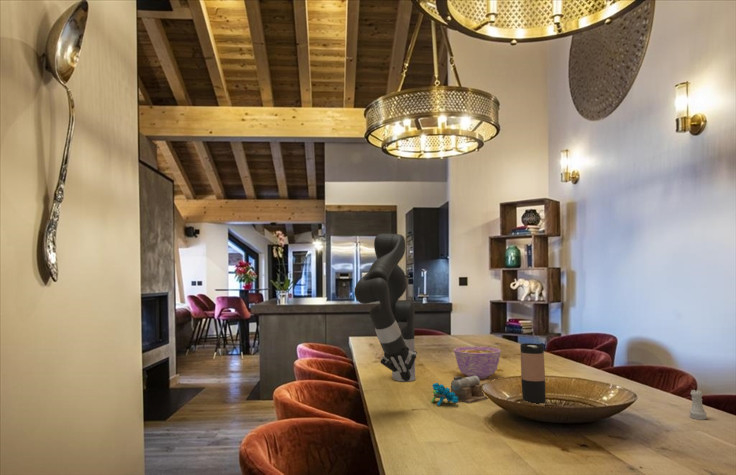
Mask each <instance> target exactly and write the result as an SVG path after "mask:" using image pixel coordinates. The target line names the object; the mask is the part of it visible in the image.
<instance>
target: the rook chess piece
mask: <svg viewBox="0 0 736 475" xmlns="http://www.w3.org/2000/svg"><path fill="white" fill-rule="evenodd" d="M690 395H691V400H692V401H691V408H690V410H689V414H688V415H689V417H690V418H691V419H694V420H698V421H699V420H700V421H701V420H703V421H704V420H706V419H708V417H707V412H706V411H705V409H704V406H703V398H702V397H703V396H704V394H703V393H702V390H699V389H697V390H695V389H691V392H690Z"/></svg>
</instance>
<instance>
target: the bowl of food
mask: <svg viewBox="0 0 736 475" xmlns="http://www.w3.org/2000/svg"><path fill="white" fill-rule="evenodd" d="M501 351H502V350H501V349H499V348H496V347H490V346H459V347H455V348H453V352H454V357H455V360H456V364H457V368H458V369H459V371H460V372H461V373H462V374H463V375H465V376H467V377H471V376H477V377H478V378H479V380H482V379H483V380H485V379H487V378H488V377H489V376H492V375H494V374H495V373H496V372H497V370H498V367H499V362H500V357H501Z"/></svg>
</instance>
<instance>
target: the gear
mask: <svg viewBox="0 0 736 475" xmlns="http://www.w3.org/2000/svg"><path fill="white" fill-rule="evenodd" d="M432 389H433V392H432V393H433V398H432V399H431V401H430V402H431V403H433V404H434V402H435V400H436V399H439V400H438V401H437V403H436V405H437V406H438V407H440V405H441V404H442V403H443V401H444V400H446V401H447V402H448V403H452V404H455V403H456V404H458V403H459V402H460V401H459V400H458V399H459V398H458V397H457V396H455V393H454V392H452V393H451V388H449V387H445V386H444V384H442V383H440V384H439V383H438V382H436V383H433V384H432Z"/></svg>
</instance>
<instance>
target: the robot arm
mask: <svg viewBox="0 0 736 475" xmlns="http://www.w3.org/2000/svg"><path fill="white" fill-rule="evenodd" d="M373 242H374V243H373V247H374V252H375V256H376V260H375V261H374V262H373V263H372V264H371V266H370V268H369V270H368V271H367V273H366V274H364V275H363V276H362V277H361V278H360V279H359V280H358V282H356V284H355V288H354V297H355V299H356V301H357V302H358V303H360V304H363V305H364V304H365V305H366V304H371V303H376V302H378V304H376V305H375V306H373V307H371V309H370V310H369V318H370V319H371V323H372V325H373V327H374V330H375V333H376V337H377V339H378V342H379V344H380V347H381V349H382V351H383V356H381V359H380V364H381V365H383V366H384V367H386V368H387V369H389V370H390V371H392V372H391V374H392V379H393V380H394V381H398V382H412V381H415V380H416V359H417V355H418V352H417V350H415V349H416V344H415V342H416V341H415V315H416V314H415V312H416V311H415V304H414V302H413V301H412V300H399V299H400V298H401V297H402V296H403V295H404V293H405V292H406V290H407V286H408V284H407V283H408V282H407V277H406V273H405V271H404V270H403V269H402V268H401V266H399V265H398V264H399V263H400V262H401V260H402V259H403V257H404V256H405V252H406V239H405V236H404V235H402V234H399V233H378V234H377V235H376V236H375V238H374V240H373ZM398 323H406V325H405V326H403V328H400V327H399V324H398Z"/></svg>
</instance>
